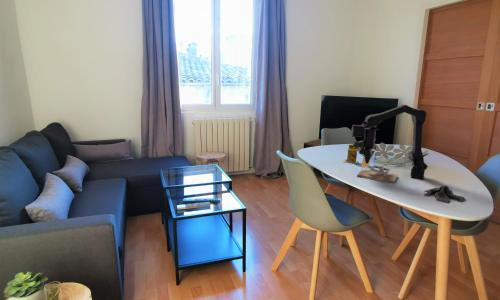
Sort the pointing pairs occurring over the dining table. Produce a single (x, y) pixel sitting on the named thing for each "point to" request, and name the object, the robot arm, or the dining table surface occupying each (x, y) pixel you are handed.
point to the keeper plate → (377, 175)
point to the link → (374, 167)
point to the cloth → (444, 194)
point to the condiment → (351, 155)
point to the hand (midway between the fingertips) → (367, 163)
